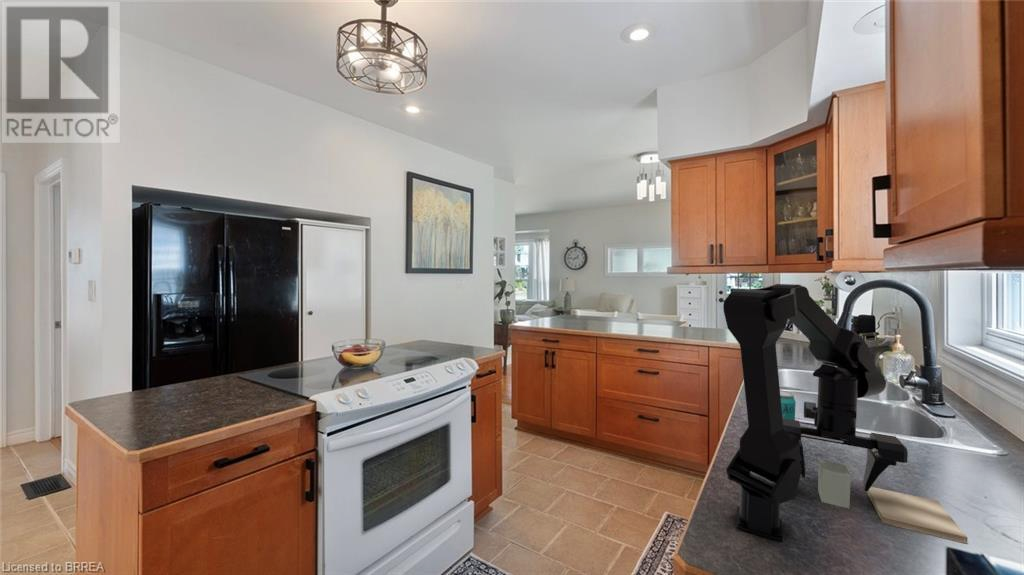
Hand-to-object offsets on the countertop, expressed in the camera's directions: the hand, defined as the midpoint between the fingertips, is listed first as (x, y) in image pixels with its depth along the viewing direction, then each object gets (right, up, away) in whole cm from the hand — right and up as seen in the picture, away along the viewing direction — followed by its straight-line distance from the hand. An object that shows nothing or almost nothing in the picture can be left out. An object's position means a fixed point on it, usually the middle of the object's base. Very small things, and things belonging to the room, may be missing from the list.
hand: (833, 483), depth 76 cm
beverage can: (+1, -3, +17) cm, 17 cm away
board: (+10, -3, -5) cm, 11 cm away
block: (0, -3, 0) cm, 3 cm away
